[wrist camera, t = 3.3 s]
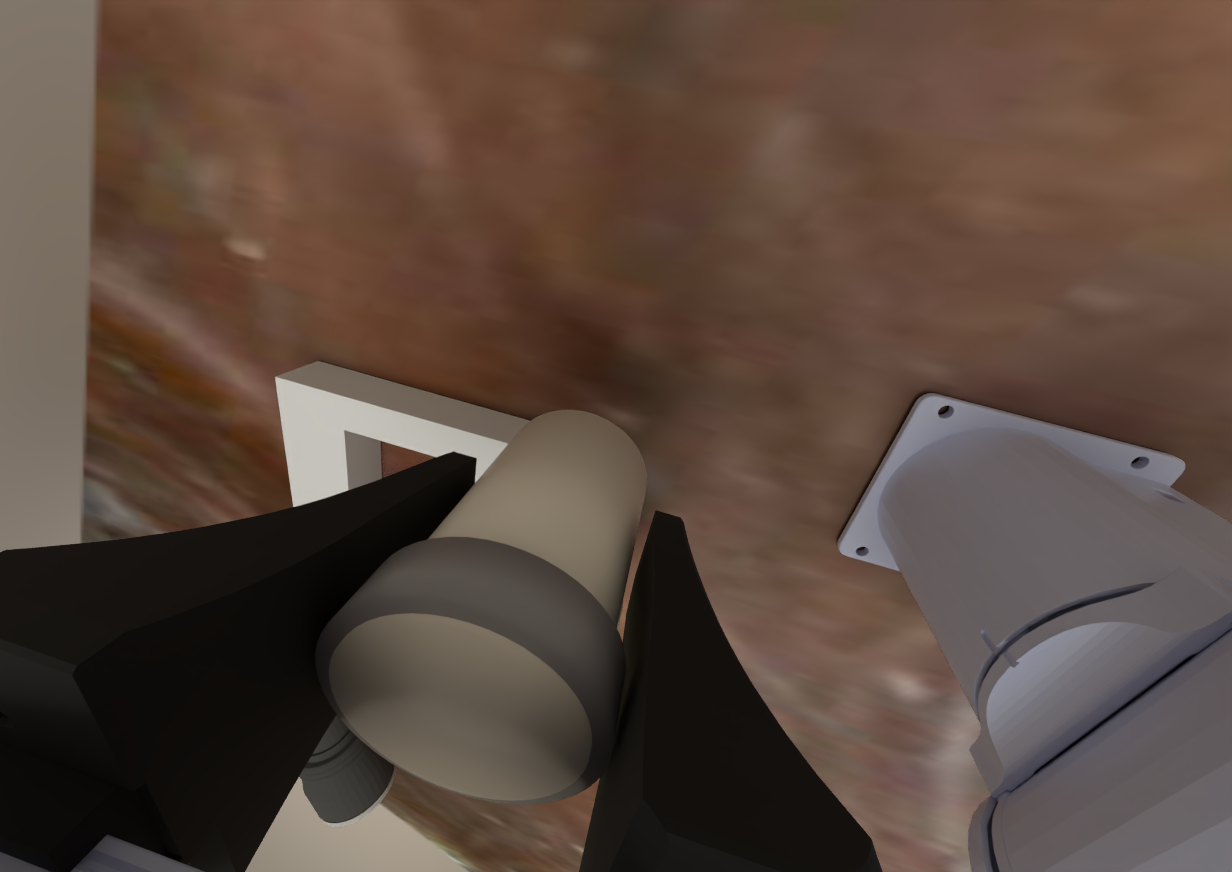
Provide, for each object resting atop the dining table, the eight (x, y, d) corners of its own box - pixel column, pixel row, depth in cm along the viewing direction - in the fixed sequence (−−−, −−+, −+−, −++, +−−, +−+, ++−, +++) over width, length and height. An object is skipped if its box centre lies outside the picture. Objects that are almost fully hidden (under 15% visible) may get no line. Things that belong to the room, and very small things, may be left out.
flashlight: (276, 604, 32) (198, 672, 27) (342, 608, 31) (273, 680, 26) (352, 744, 38) (300, 820, 33) (410, 753, 37) (364, 832, 32)
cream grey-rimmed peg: (678, 425, 12) (646, 666, 6) (636, 559, 14) (580, 841, 8) (506, 379, 12) (292, 559, 6) (491, 517, 14) (324, 756, 8)
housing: (552, 426, 22) (525, 461, 18) (515, 650, 29) (491, 702, 26) (318, 361, 22) (255, 384, 19) (340, 593, 30) (296, 637, 27)
